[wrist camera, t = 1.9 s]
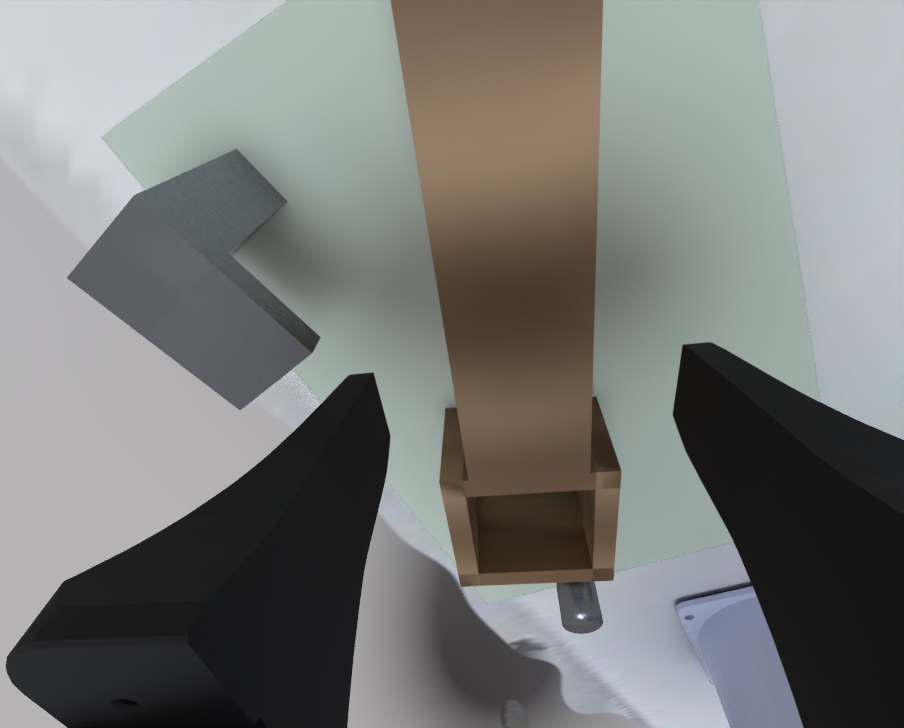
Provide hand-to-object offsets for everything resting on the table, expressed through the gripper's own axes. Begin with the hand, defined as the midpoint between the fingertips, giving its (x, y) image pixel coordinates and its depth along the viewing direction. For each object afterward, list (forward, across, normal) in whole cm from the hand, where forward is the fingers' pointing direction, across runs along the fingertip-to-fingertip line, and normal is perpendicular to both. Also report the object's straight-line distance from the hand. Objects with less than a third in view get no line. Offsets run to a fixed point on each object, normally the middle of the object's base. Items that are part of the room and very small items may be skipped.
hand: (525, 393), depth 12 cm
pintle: (+6, -2, +13) cm, 14 cm away
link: (+6, 0, +1) cm, 6 cm away
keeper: (+6, +8, -3) cm, 10 cm away
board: (+7, -1, +3) cm, 8 cm away
